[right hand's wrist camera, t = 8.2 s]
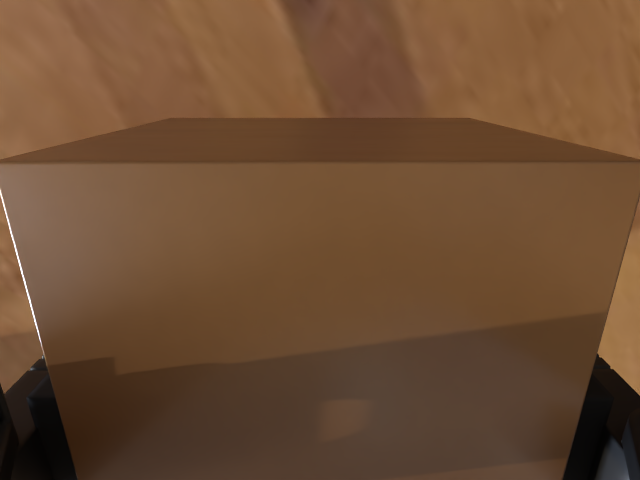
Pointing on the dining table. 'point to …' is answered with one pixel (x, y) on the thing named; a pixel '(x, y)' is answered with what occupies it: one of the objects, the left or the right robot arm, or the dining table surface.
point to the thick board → (320, 295)
